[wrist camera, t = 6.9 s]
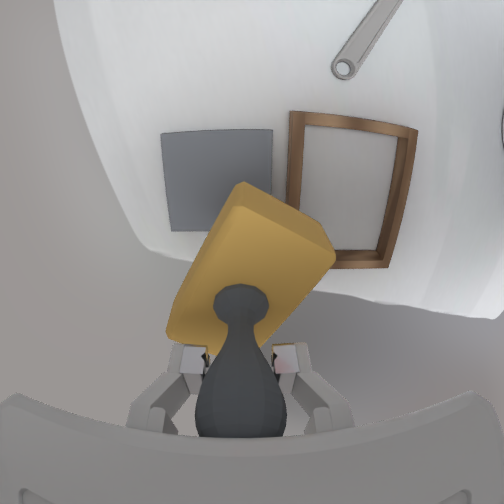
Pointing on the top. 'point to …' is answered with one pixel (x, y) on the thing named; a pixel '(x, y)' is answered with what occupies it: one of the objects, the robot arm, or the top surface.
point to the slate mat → (211, 171)
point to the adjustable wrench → (365, 36)
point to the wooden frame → (397, 189)
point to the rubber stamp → (246, 307)
